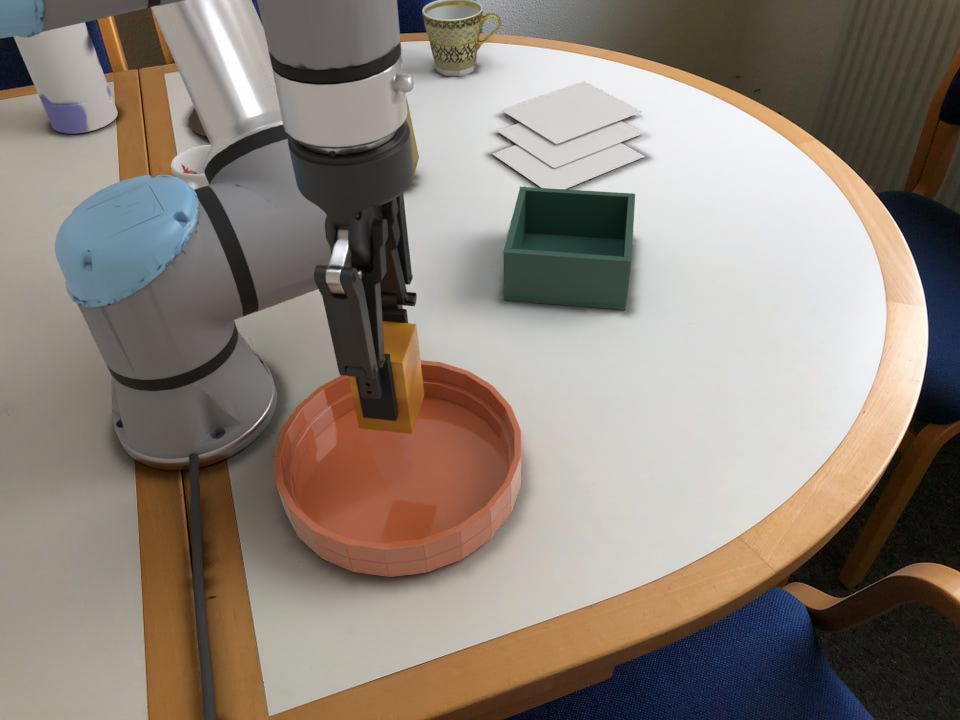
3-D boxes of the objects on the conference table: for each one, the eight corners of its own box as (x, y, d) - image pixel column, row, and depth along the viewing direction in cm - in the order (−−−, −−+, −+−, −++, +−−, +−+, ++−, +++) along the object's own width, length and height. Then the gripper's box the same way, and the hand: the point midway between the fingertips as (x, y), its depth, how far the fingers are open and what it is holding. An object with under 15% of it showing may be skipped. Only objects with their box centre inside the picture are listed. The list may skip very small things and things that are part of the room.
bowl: (502, 596, 62) (502, 565, 59) (247, 561, 66) (233, 529, 62) (535, 404, 78) (536, 370, 74) (326, 382, 81) (318, 350, 78)
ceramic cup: (421, 79, 134) (416, 19, 127) (433, 56, 141) (429, -3, 134) (497, 82, 132) (496, 21, 125) (505, 58, 139) (505, -1, 132)
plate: (217, 73, 138) (212, 52, 136) (376, 71, 137) (374, 50, 134) (164, 152, 118) (157, 129, 115) (351, 150, 116) (347, 127, 114)
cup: (224, 245, 99) (207, 189, 94) (166, 240, 101) (146, 184, 95) (258, 200, 107) (244, 145, 102) (204, 195, 108) (188, 141, 103)
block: (412, 434, 64) (402, 363, 59) (358, 428, 65) (344, 357, 59) (424, 394, 67) (416, 323, 62) (373, 389, 68) (361, 318, 62)
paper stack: (687, 139, 115) (688, 134, 115) (551, 194, 105) (551, 190, 105) (583, 85, 129) (584, 80, 129) (455, 129, 120) (455, 125, 119)
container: (131, 114, 128) (85, -17, 114) (79, 140, 122) (23, 5, 108) (91, 101, 132) (42, -27, 118) (39, 125, 126) (-19, -7, 112)
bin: (625, 310, 88) (631, 261, 83) (503, 300, 90) (503, 252, 85) (630, 240, 97) (635, 193, 93) (520, 232, 99) (520, 186, 95)
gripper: (368, 208, 42) (408, 483, 58) (437, 68, 54) (455, 326, 70) (233, 198, 43) (310, 471, 59) (332, 64, 55) (373, 319, 71)
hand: (389, 392), depth 64 cm, fingers closed on block, 4 cm apart
